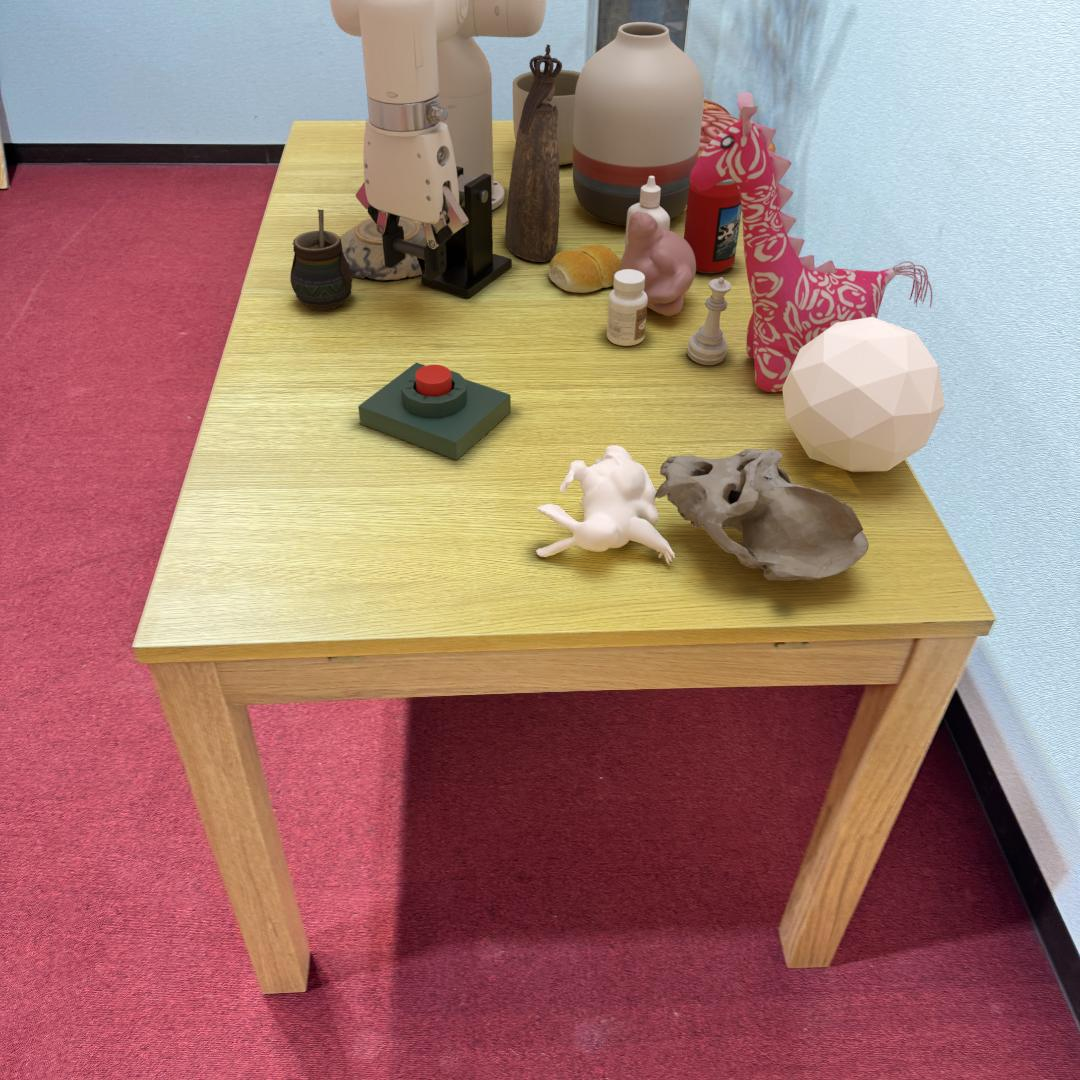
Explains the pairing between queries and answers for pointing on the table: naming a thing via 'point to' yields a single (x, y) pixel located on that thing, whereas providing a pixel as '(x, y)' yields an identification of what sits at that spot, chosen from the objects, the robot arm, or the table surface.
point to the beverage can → (713, 225)
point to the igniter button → (433, 380)
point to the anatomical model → (716, 124)
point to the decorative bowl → (378, 251)
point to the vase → (636, 123)
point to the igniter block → (435, 413)
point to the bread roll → (584, 268)
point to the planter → (561, 99)
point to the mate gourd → (320, 269)
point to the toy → (784, 254)
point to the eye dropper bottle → (649, 206)
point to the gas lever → (420, 240)
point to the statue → (536, 170)
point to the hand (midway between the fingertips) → (415, 267)
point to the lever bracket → (471, 245)
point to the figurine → (659, 263)
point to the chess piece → (711, 328)
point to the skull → (765, 514)
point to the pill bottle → (627, 308)
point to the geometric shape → (863, 395)
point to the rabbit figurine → (609, 507)
